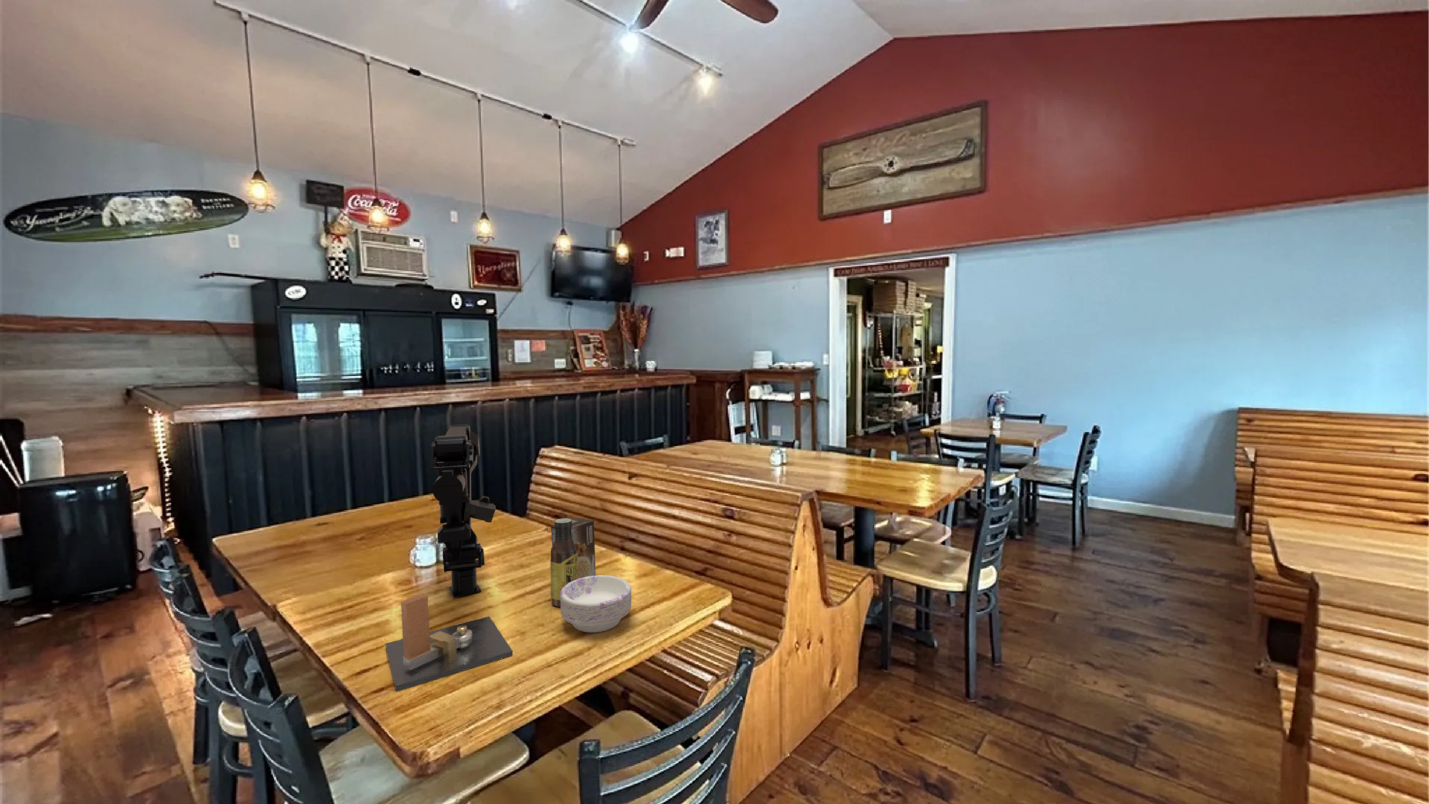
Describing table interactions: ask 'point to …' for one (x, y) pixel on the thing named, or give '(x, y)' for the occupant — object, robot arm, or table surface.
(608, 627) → the paper bowls
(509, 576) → the table surface
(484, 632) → the base plate
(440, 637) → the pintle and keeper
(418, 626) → the link
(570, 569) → the sauce bottle
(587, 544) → the coffee box
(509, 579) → the table surface
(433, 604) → the table surface
